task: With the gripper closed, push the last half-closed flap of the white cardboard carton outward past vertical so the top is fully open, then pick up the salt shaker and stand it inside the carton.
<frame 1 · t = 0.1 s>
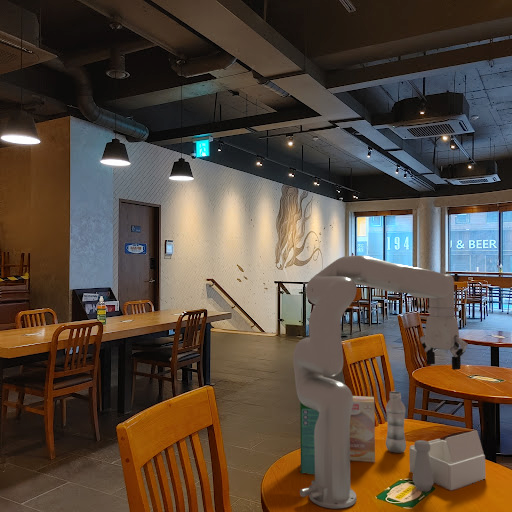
hand: (443, 366, 151), 31 cm above the table, tool pointing down, fingers open, 9 cm apart
milk carton: (316, 469, 147), on the table
plastic bottle: (396, 452, 161), on the table
coffeecake box: (352, 457, 157), on the table
carton: (446, 475, 142), on the table
flap: (464, 446, 137), point 11 cm above the table, hinge at 72.0°
salt shaker: (423, 489, 134), on the table
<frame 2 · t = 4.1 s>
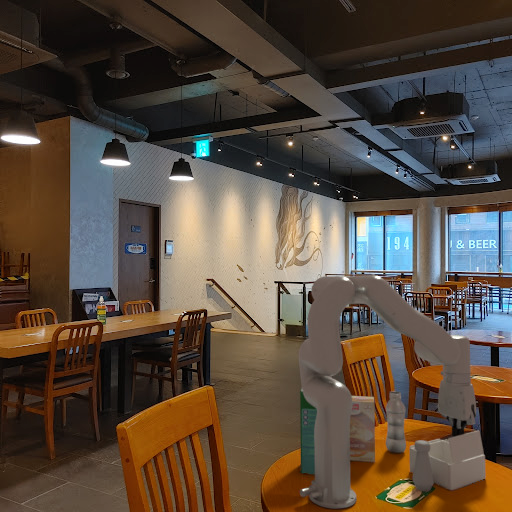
hand: (458, 440, 139), 12 cm above the table, tool pointing down, fingers closed
flap: (466, 446, 137), point 11 cm above the table, hinge at 79.6°, touching gripper
everything else where it was.
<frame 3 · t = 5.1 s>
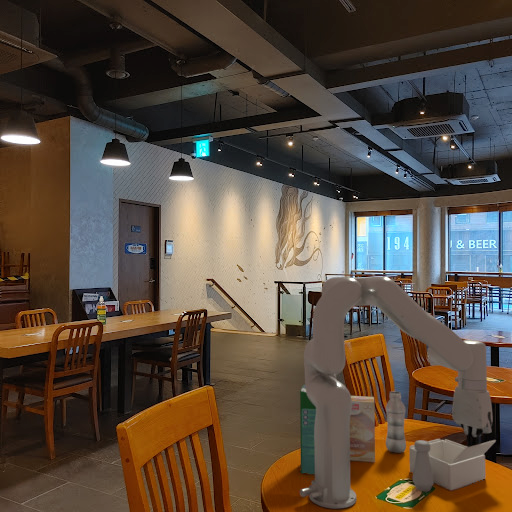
hand: (473, 449, 135), 11 cm above the table, tool pointing down, fingers closed
flap: (474, 451, 134), point 10 cm above the table, hinge at 128.9°, touching gripper
everything else where it was.
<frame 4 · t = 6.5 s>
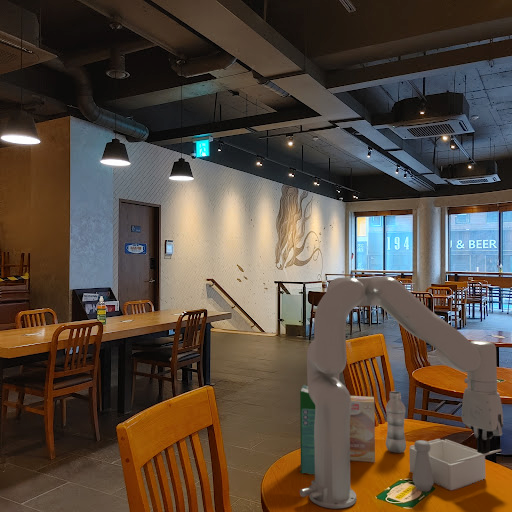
hand: (483, 452, 132), 11 cm above the table, tool pointing down, fingers closed
flap: (477, 456, 133), point 9 cm above the table, hinge at 153.5°
everything else where it was.
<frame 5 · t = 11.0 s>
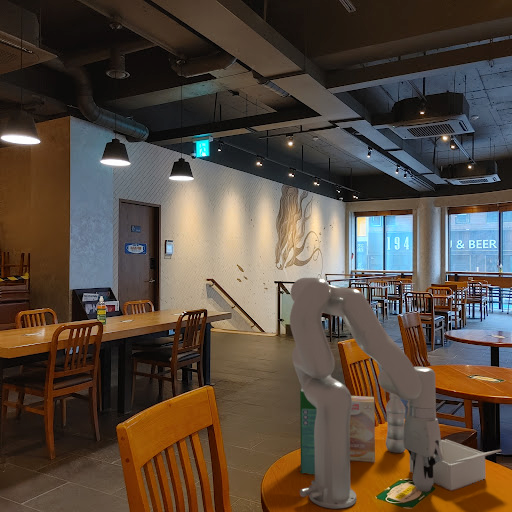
hand: (423, 476, 134), 3 cm above the table, tool pointing down, fingers closed on salt shaker, 3 cm apart
flap: (477, 456, 133), point 9 cm above the table, hinge at 154.1°
salt shaker: (423, 489, 134), on the table, touching gripper
everything else where it was.
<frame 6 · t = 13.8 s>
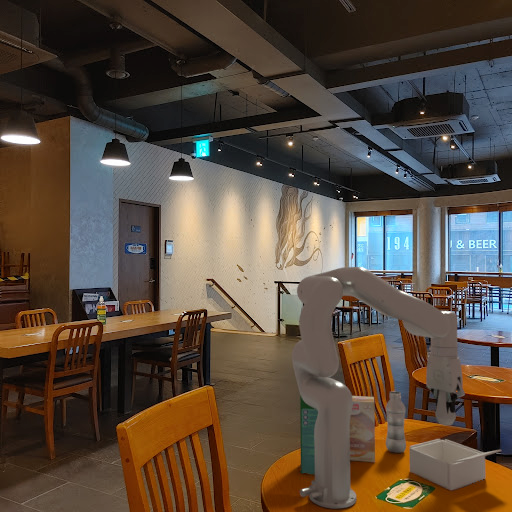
hand: (445, 412, 143), 19 cm above the table, tool pointing down, fingers closed on salt shaker, 3 cm apart
salt shaker: (445, 423, 143), point 15 cm above the table, touching gripper
everything else where it was.
when the fingers open (5 cm above the table, at t = 16.4 s): salt shaker drops 1 cm, resting on carton.
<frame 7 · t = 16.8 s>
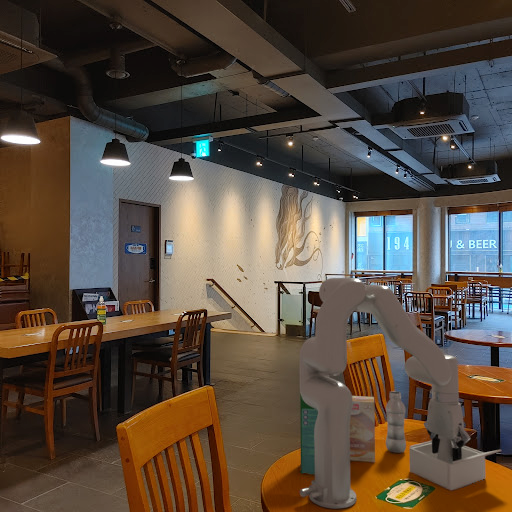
hand: (446, 456, 142), 6 cm above the table, tool pointing down, fingers open, 6 cm apart
salt shaker: (446, 474, 142), resting on carton
everything else where it was.
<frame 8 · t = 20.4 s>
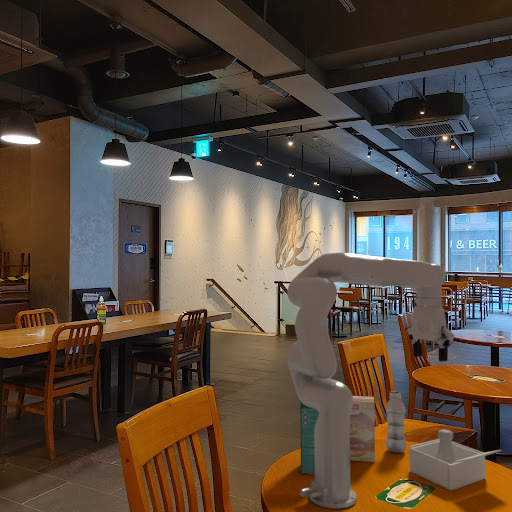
hand: (430, 358, 147), 34 cm above the table, tool pointing down, fingers open, 9 cm apart
nothing on the table moved.
at the end: flap at +154° (first picture: +72°); salt shaker inside the target area on the carton (0.1 cm from its centre), point 0.1 cm above the carton's base; salt shaker tilted 0° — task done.
